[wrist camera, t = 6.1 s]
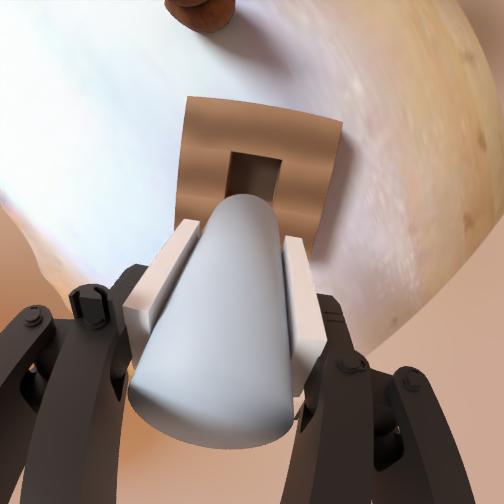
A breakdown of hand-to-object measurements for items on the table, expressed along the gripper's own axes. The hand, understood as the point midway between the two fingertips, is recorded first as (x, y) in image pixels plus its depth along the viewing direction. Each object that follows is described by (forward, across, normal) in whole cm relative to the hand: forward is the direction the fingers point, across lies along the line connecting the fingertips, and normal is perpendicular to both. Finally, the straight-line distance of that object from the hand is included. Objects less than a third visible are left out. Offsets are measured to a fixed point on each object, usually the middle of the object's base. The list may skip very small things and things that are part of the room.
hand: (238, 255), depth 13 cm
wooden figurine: (+20, -8, +18) cm, 28 cm away
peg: (+4, 0, 0) cm, 4 cm away
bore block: (+19, 0, 0) cm, 19 cm away
